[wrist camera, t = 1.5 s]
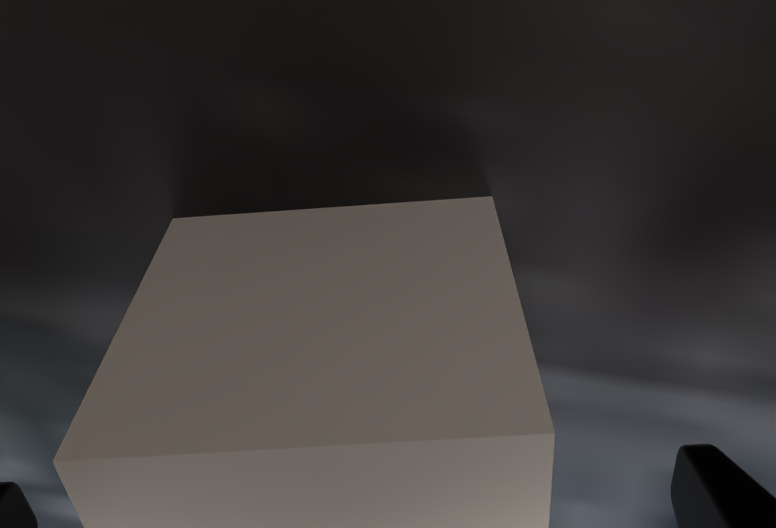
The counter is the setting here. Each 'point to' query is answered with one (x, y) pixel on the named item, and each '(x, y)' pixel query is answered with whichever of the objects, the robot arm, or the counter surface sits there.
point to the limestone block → (319, 379)
